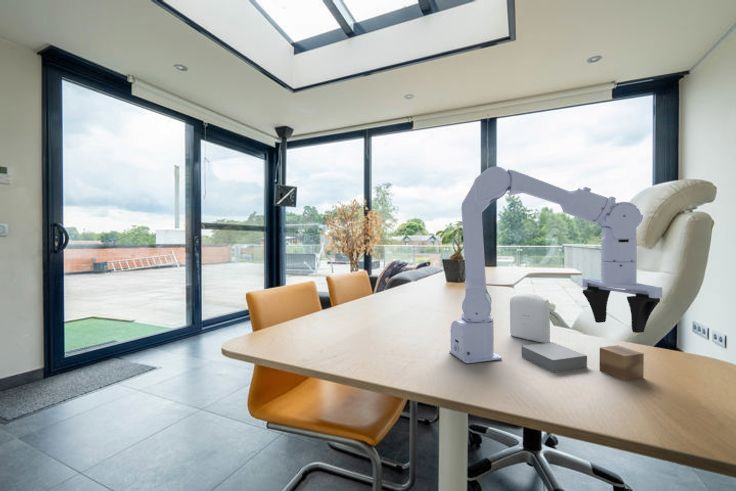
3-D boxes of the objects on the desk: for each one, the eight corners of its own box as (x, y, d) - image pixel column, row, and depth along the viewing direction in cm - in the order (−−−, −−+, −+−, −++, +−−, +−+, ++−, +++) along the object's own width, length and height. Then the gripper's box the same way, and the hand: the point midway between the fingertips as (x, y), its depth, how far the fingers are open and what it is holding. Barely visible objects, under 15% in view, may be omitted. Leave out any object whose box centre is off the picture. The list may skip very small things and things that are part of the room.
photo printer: (507, 336, 90) (507, 293, 90) (514, 333, 93) (514, 291, 92) (546, 345, 82) (546, 298, 82) (552, 341, 85) (552, 295, 84)
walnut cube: (624, 381, 61) (624, 356, 61) (599, 371, 66) (599, 347, 66) (643, 378, 62) (643, 353, 62) (617, 368, 67) (618, 345, 67)
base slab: (552, 374, 66) (552, 360, 65) (521, 358, 74) (521, 345, 74) (586, 369, 68) (587, 355, 68) (552, 354, 76) (552, 342, 76)
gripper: (674, 263, 59) (674, 335, 59) (599, 258, 73) (599, 316, 73) (646, 264, 57) (646, 338, 57) (575, 259, 71) (575, 319, 71)
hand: (618, 326), depth 65 cm, fingers open, 7 cm apart
